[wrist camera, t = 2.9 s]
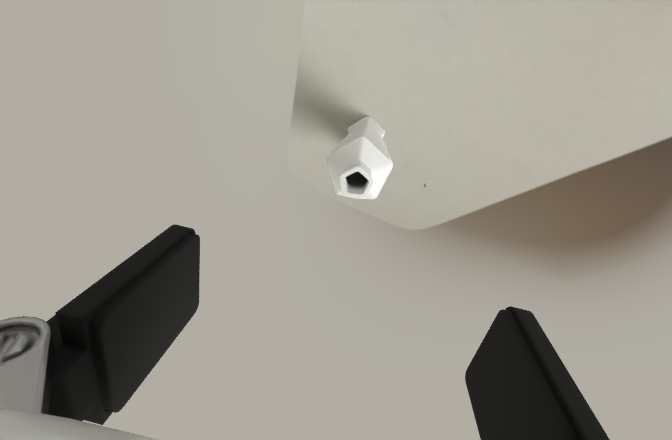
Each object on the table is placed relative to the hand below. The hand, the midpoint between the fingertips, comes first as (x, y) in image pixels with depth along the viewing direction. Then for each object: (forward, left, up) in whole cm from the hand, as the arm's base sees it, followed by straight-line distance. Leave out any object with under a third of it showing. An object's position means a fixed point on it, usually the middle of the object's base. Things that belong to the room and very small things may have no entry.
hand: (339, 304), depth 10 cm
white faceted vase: (0, 0, -27) cm, 27 cm away
